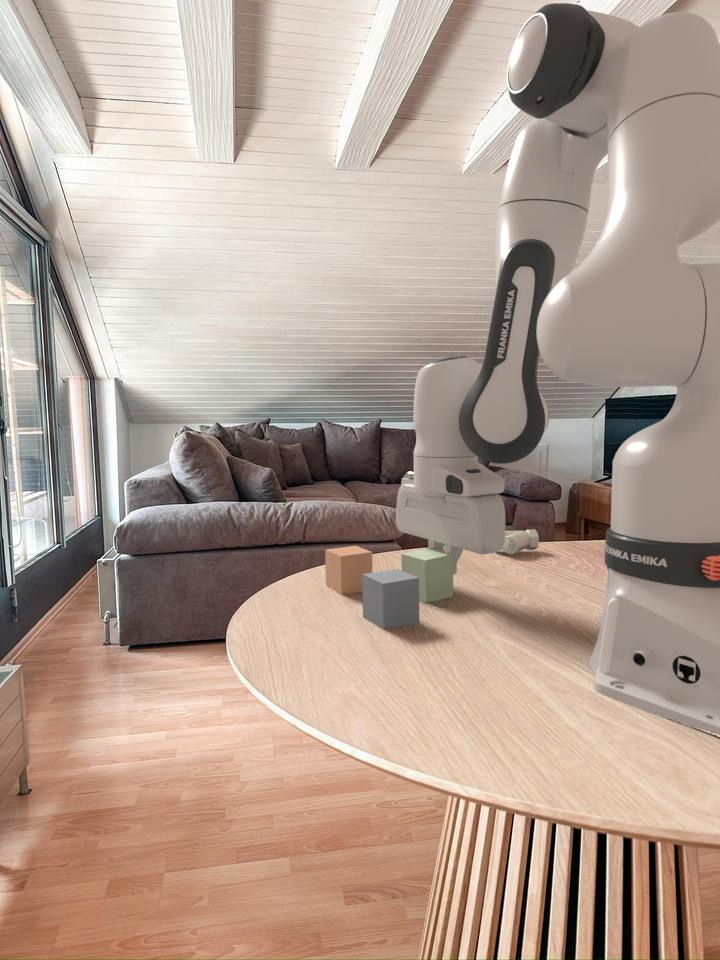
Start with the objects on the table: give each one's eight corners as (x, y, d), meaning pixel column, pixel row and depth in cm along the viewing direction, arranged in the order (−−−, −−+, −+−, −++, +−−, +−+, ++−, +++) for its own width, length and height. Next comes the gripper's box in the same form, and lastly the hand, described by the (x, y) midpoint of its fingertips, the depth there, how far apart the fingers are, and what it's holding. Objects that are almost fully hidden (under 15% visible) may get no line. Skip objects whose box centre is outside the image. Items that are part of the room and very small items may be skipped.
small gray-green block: (447, 607, 84) (447, 606, 84) (440, 608, 84) (440, 607, 84) (438, 603, 86) (438, 602, 86) (431, 604, 85) (431, 603, 85)
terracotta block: (372, 593, 91) (372, 552, 91) (341, 598, 89) (340, 556, 88) (356, 585, 96) (355, 545, 95) (326, 590, 93) (325, 549, 93)
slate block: (419, 626, 77) (419, 577, 77) (383, 633, 75) (383, 583, 74) (397, 615, 82) (397, 568, 81) (363, 621, 79) (362, 574, 79)
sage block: (453, 596, 88) (452, 554, 88) (425, 604, 86) (425, 560, 85) (429, 588, 93) (428, 547, 92) (402, 595, 90) (401, 553, 89)
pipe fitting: (503, 536, 112) (490, 527, 118) (502, 557, 112) (489, 547, 119) (547, 536, 113) (532, 527, 119) (545, 557, 113) (530, 547, 120)
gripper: (385, 471, 96) (386, 561, 98) (476, 485, 79) (475, 594, 81) (419, 468, 100) (419, 555, 101) (514, 481, 82) (512, 586, 84)
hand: (445, 572), depth 91 cm, fingers closed, pressing on sage block
